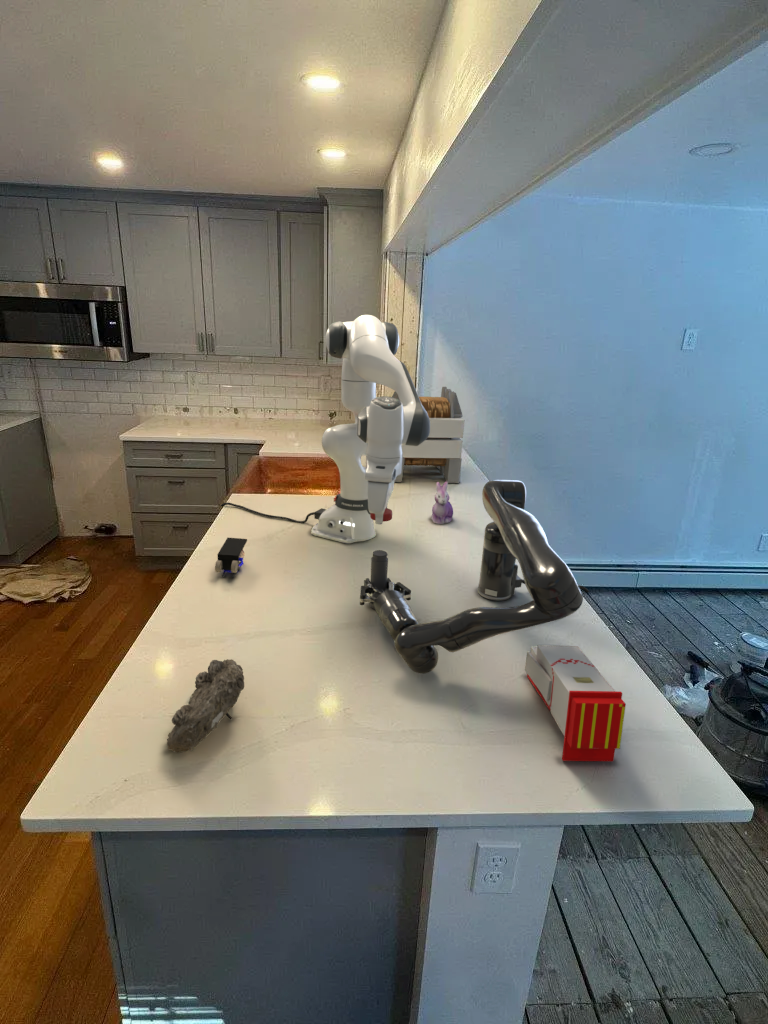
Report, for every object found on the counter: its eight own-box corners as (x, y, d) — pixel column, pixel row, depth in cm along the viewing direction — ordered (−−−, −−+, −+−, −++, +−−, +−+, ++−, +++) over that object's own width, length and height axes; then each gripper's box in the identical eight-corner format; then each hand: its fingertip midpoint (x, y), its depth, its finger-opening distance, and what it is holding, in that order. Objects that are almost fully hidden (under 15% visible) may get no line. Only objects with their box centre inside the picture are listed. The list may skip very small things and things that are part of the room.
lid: (390, 513, 146) (391, 507, 145) (393, 521, 141) (393, 514, 140) (369, 513, 145) (369, 507, 144) (371, 521, 140) (371, 514, 139)
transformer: (382, 463, 289) (386, 382, 275) (445, 464, 293) (451, 384, 279) (390, 482, 257) (394, 392, 243) (460, 483, 261) (468, 394, 247)
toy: (573, 628, 126) (635, 699, 97) (567, 683, 129) (626, 769, 99) (519, 627, 125) (565, 698, 96) (514, 682, 128) (557, 768, 99)
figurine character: (238, 584, 162) (249, 557, 175) (236, 562, 158) (247, 536, 172) (215, 584, 161) (227, 556, 175) (212, 561, 158) (225, 535, 171)
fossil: (192, 660, 117) (244, 628, 112) (224, 691, 120) (276, 661, 115) (142, 746, 98) (202, 712, 93) (182, 779, 101) (242, 748, 96)
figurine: (438, 526, 208) (441, 487, 203) (424, 517, 217) (426, 479, 211) (459, 522, 212) (463, 484, 207) (444, 514, 221) (447, 477, 216)
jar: (375, 611, 148) (378, 557, 143) (366, 604, 152) (368, 551, 146) (389, 606, 151) (391, 554, 146) (379, 600, 154) (381, 548, 149)
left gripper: (377, 454, 148) (375, 503, 153) (363, 475, 129) (361, 531, 134) (401, 456, 147) (398, 506, 152) (391, 478, 128) (388, 534, 133)
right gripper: (365, 628, 136) (349, 595, 151) (421, 622, 140) (400, 590, 155) (366, 601, 133) (350, 569, 148) (423, 595, 137) (401, 565, 152)
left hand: (381, 518), depth 143 cm, fingers closed on lid, 5 cm apart
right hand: (375, 580), depth 152 cm, fingers closed on jar, 4 cm apart
